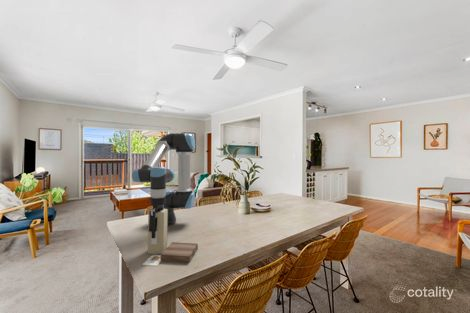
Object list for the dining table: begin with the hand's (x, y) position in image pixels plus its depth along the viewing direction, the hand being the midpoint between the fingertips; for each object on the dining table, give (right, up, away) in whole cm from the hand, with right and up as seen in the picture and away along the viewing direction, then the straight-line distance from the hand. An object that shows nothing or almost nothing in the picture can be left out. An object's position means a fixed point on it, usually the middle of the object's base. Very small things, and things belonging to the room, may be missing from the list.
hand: (157, 240), depth 110 cm
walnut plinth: (+13, -5, -4) cm, 14 cm away
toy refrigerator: (0, -5, 0) cm, 5 cm away
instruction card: (+2, -5, -10) cm, 12 cm away
